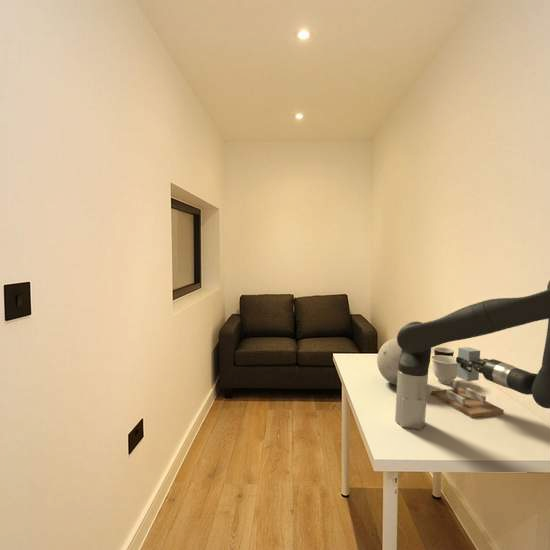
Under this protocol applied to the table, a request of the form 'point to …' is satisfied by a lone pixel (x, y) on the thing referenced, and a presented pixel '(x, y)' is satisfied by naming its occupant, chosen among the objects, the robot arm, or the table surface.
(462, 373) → the block
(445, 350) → the coffee mug
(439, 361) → the teacup
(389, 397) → the table surface
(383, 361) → the moon model
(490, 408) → the plate
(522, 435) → the table surface
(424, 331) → the robot arm
